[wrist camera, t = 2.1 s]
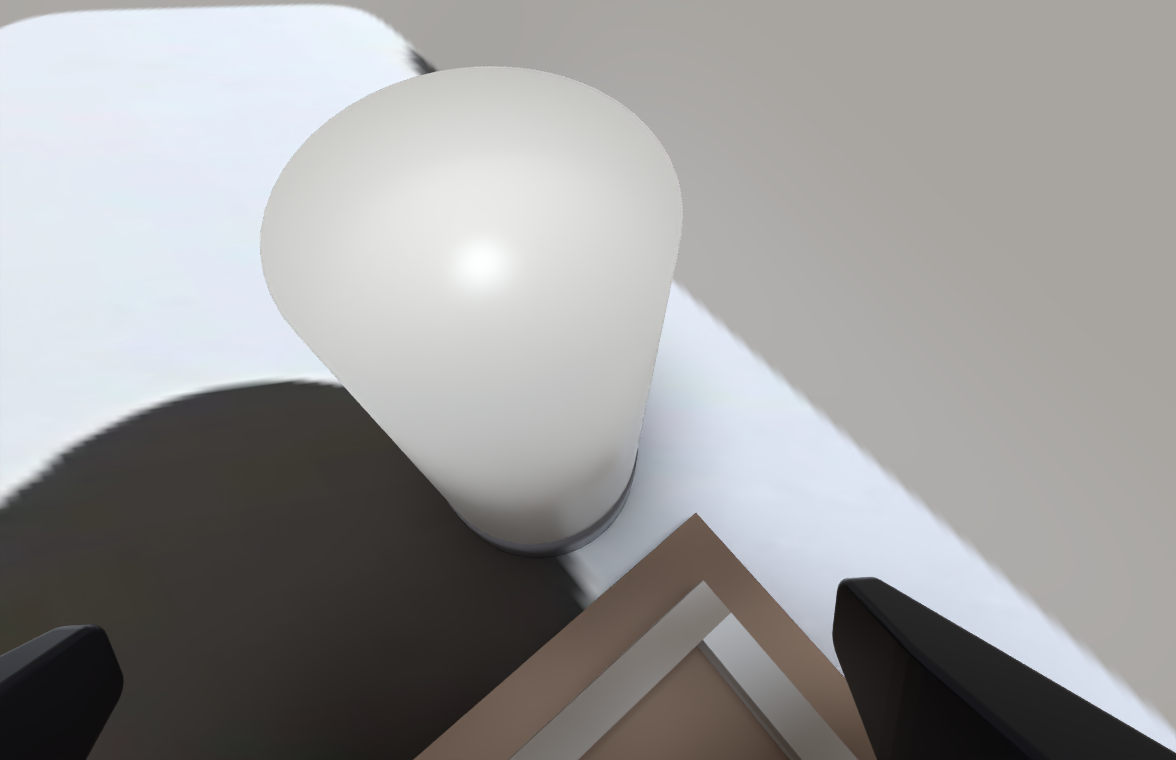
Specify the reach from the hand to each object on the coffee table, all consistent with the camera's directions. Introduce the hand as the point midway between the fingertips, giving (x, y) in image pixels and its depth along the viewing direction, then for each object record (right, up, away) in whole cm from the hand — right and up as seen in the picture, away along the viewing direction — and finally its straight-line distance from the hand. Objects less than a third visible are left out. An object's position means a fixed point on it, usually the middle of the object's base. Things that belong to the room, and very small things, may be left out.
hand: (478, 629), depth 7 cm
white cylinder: (0, 0, +12) cm, 12 cm away
